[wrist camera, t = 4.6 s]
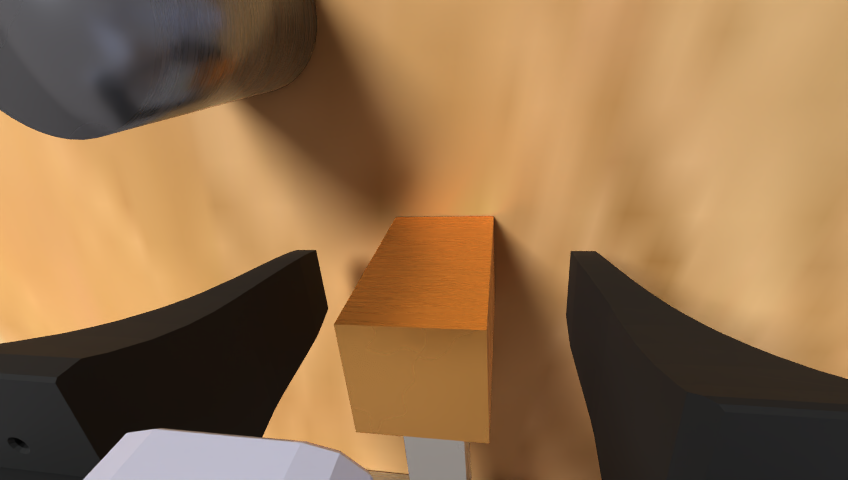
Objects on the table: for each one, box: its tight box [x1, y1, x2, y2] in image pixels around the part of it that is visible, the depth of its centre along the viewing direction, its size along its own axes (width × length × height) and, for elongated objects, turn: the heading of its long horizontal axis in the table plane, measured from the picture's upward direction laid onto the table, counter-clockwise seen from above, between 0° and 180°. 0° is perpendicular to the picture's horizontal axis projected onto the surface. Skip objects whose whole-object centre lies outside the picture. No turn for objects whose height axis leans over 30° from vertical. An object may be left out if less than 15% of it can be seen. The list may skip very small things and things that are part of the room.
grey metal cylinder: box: [0, 0, 317, 140], centre depth 9 cm, size 4×4×6 cm
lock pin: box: [334, 216, 495, 480], centre depth 14 cm, size 3×14×6 cm, turn 5°
